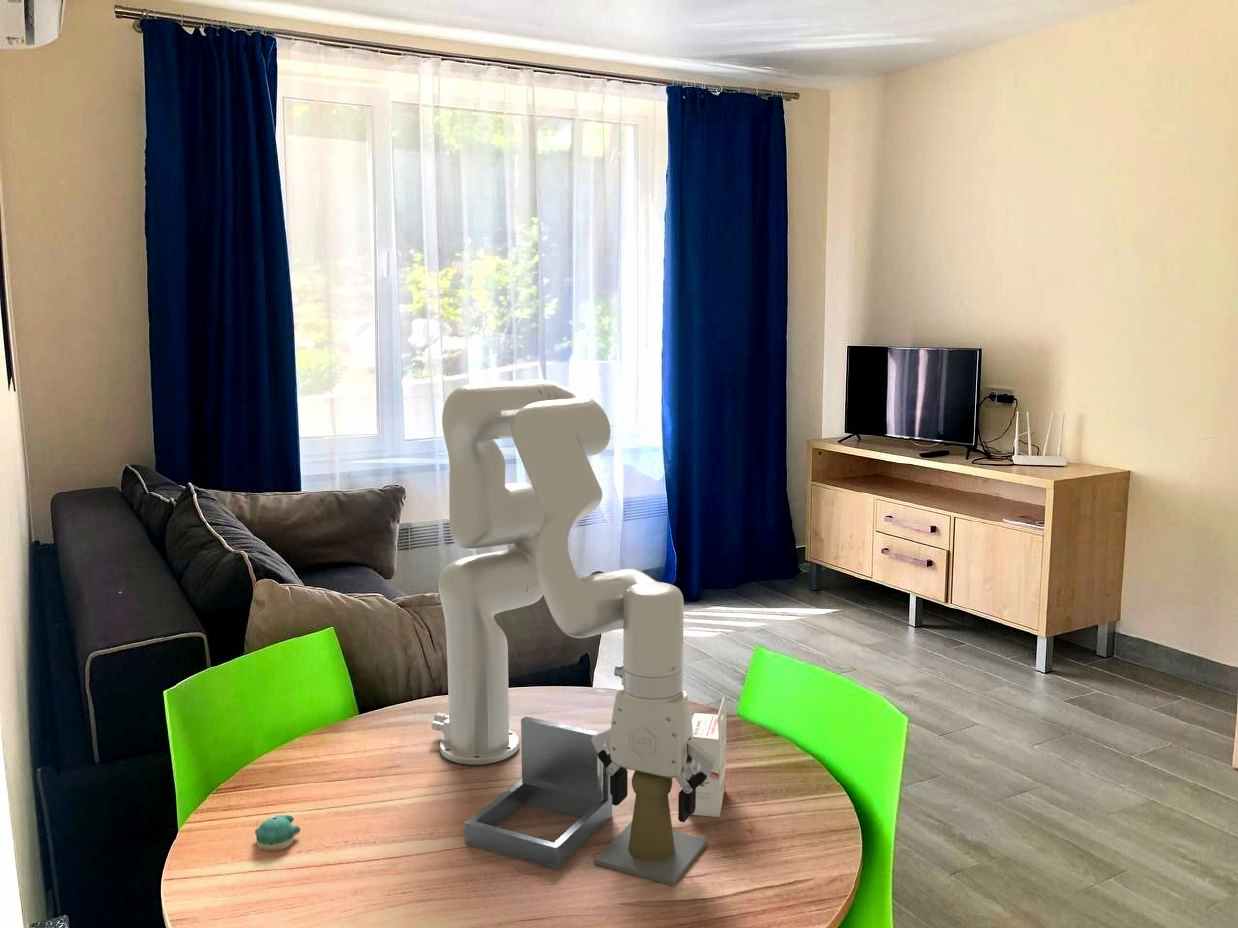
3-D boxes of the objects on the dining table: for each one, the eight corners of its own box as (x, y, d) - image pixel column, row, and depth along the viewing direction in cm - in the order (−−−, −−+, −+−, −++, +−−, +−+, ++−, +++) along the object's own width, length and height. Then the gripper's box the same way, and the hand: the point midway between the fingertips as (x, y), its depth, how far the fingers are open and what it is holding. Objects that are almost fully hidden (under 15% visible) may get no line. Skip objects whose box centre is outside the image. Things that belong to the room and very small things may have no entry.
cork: (680, 840, 132) (681, 762, 130) (667, 864, 126) (668, 782, 125) (636, 833, 134) (636, 755, 132) (622, 856, 128) (622, 775, 127)
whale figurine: (248, 855, 130) (246, 828, 129) (263, 826, 137) (261, 800, 137) (294, 853, 131) (292, 826, 130) (306, 824, 138) (305, 798, 137)
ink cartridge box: (692, 786, 148) (693, 691, 146) (725, 789, 147) (727, 694, 145) (684, 815, 140) (685, 714, 138) (719, 818, 139) (721, 717, 137)
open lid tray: (465, 843, 132) (463, 757, 131) (526, 794, 146) (525, 716, 144) (556, 870, 126) (555, 780, 124) (612, 816, 140) (612, 734, 138)
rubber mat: (594, 863, 128) (594, 859, 128) (632, 824, 137) (632, 820, 137) (673, 885, 123) (673, 881, 123) (707, 843, 133) (707, 839, 132)
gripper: (578, 679, 127) (579, 806, 130) (705, 703, 119) (703, 838, 122) (605, 661, 134) (606, 782, 136) (728, 682, 126) (725, 811, 129)
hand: (652, 808), depth 129 cm, fingers open, 9 cm apart
